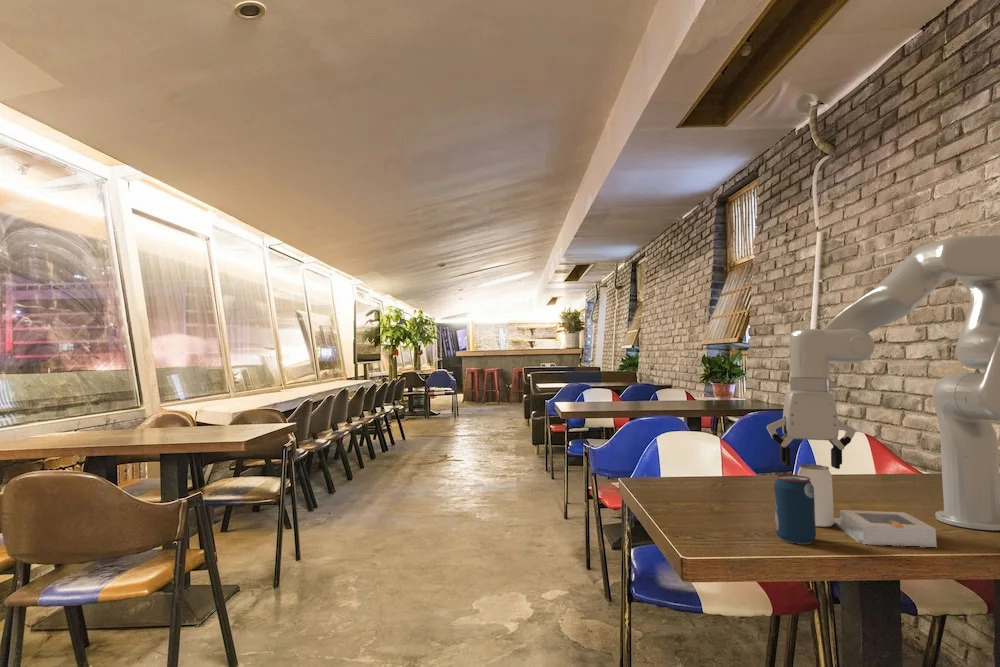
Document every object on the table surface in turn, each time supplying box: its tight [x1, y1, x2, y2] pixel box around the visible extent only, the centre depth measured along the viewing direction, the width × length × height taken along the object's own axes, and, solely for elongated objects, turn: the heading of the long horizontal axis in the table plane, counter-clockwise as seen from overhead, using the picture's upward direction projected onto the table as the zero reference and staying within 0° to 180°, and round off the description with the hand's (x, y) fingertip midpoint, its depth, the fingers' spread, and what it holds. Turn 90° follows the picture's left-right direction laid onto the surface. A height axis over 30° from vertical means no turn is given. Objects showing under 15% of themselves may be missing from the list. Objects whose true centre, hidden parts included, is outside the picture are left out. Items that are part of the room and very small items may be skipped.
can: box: [797, 463, 835, 528], centre depth 123 cm, size 6×6×12 cm
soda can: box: [773, 474, 817, 545], centre depth 111 cm, size 7×7×12 cm
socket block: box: [833, 509, 938, 549], centre depth 115 cm, size 13×17×4 cm
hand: (810, 466), depth 123 cm, fingers open, 9 cm apart
